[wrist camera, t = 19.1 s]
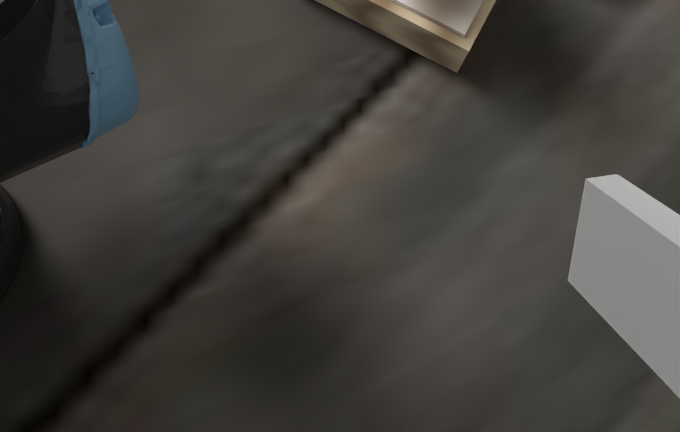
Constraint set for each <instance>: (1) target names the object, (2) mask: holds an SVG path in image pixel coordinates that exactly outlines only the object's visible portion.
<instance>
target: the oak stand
mask: <svg viewBox="0 0 680 432" xmlns="http://www.w3.org/2000/svg"><path fill="white" fill-rule="evenodd" d="M315 1H317V2H319V3H321V4H323V5H325V6H327V7H329V8H330V9H332V10H334V11H336V12H338V13H340V14H342V15H344V16H346V17H348V18H350V19H352V20H354V21H356V22H358V23H360V24H362V25H364V26H366V27H368V28H370V29H371V30H373V31H375V32H377V33H379V34H381V35H383V36H385V37H387V38H389V39H391V40H393V41H395V42H397V43H399V44H401V45H403V46H405V47H407V48H409V49H411V50H412V51H414V52H416V53H418V54H420V55H422V56H424V57H426V58H428V59H430V60H432V61H434V62H436V63H438V64H440V65H442V66H444V67H446V68H448V69H450V70H451V71H453V72H455V73H457V72H458V70H459V69H460V67H461V65H462V63H463V61H464V60H465V58H466V56H467V54H468V52H469V51H470V49H471V47H472V45H473V43H474V41H475V39H476V37H477V35H478V34H479V32H480V30H481V28H482V26H483V24H484V22H485V20H486V18H487V17H488V15H489V13H490V11H491V9H492V7H493V5H494V3H495V1H496V0H315Z"/></svg>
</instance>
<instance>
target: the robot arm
mask: <svg viewBox="0 0 680 432" xmlns="http://www.w3.org/2000/svg"><path fill="white" fill-rule="evenodd" d="M138 103H139V88H138V82H137V78H136V74H135V70H134V66H133V63H132V60H131V57H130V54H129V51H128V48H127V45H126V42H125V39H124V36H123V34H122V31H121V29H120V26H119V24H118V22H117V20H116V18H115V16H114V15H113V13H112V12H111V6H110V3H109V1H108V0H0V182H2V181H5V180H7V179H9V178H12V177H14V176H16V175H18V174H21V173H23V172H25V171H28V170H30V169H32V168H35V167H37V166H39V165H42V164H44V163H46V162H48V161H51V160H53V159H55V158H58V157H60V156H62V155H65V154H67V153H69V152H72V151H74V150H76V149H78V148H84V147H87V146H89V145H90V144H91V143H92V142H93V141H94V140H95V138H97V137H99V136H101V135H103V134H105V133H107V132H109V131H110V130H112V129H114V128H116V127H118V126H120V125H122V124H124V123H126V122H127V121H128V120H129V119H130V118H131V117H132V116H133V115H134V113H135V111H136V109H137V106H138ZM21 246H22V232H21V224H20V219H19V216H18V213H17V210H16V208H15V205H14V203H13V201H12V200H11V198H10V196H9V195H8V193H7V192H6V191H5V190H4V188H3V187H2V186H1V185H0V299H1V298H2V296H3V295H4V293H5V292H6V290H7V288H8V287H9V285H10V283H11V281H12V279H13V277H14V274H15V272H16V269H17V266H18V263H19V259H20V254H21ZM568 281H569V282H570V283H571V284H572V286H573V287H574V288H575V289H576V290H577V291H578V292H579V293H580V294H581V295H582V296H583V297H584V298H585V299H586V300H587V301H588V302H589V303H590V304H591V306H592V307H593V308H594V309H595V310H596V311H597V312H598V313H599V314H600V315H601V316H602V317H603V318H604V319H605V320H606V321H607V322H608V323H609V324H610V325H611V327H612V328H613V329H614V330H615V331H616V332H617V333H618V334H619V335H620V336H621V337H622V338H623V339H624V340H625V341H626V342H627V343H628V344H629V345H630V346H631V348H632V349H633V350H634V351H635V352H636V353H637V354H638V355H639V356H640V357H641V358H642V359H643V360H644V361H645V362H646V363H647V364H648V365H649V366H650V368H651V369H652V370H653V371H654V372H655V373H656V374H657V375H658V376H659V377H660V378H661V379H662V380H663V381H664V382H665V383H666V384H667V385H668V386H669V387H670V389H671V390H672V391H673V392H674V393H675V394H676V395H677V396H678V397H679V398H680V215H679V214H677V213H676V212H674V211H673V210H671V209H670V208H668V207H667V206H665V205H664V204H662V203H660V202H659V201H657V200H656V199H654V198H653V197H651V196H650V195H648V194H647V193H645V192H644V191H642V190H641V189H639V188H638V187H636V186H635V185H633V184H631V183H630V182H628V181H627V180H625V179H624V178H622V177H621V176H619V175H618V174H615V175H608V176H601V177H594V178H588V179H585V185H584V190H583V196H582V202H581V207H580V213H579V219H578V225H577V230H576V236H575V242H574V247H573V253H572V259H571V265H570V270H569V276H568Z"/></svg>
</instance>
